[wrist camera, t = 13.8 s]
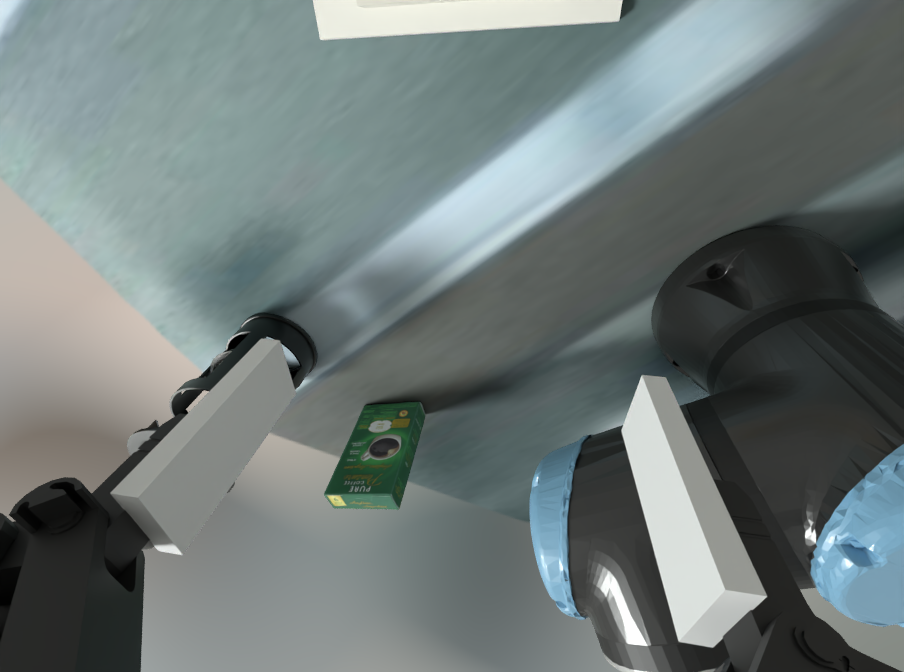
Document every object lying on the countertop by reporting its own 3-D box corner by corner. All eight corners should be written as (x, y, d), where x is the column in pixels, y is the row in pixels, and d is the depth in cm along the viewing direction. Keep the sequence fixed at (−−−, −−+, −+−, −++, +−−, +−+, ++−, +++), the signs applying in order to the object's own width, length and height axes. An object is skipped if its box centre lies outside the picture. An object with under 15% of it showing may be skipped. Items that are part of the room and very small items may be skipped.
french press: (232, 300, 43) (19, 483, 25) (315, 317, 43) (162, 514, 24) (249, 377, 50) (93, 564, 32) (320, 392, 50) (204, 589, 31)
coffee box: (369, 419, 52) (332, 512, 41) (361, 404, 50) (320, 496, 40) (426, 415, 50) (402, 511, 39) (420, 399, 48) (393, 495, 38)
